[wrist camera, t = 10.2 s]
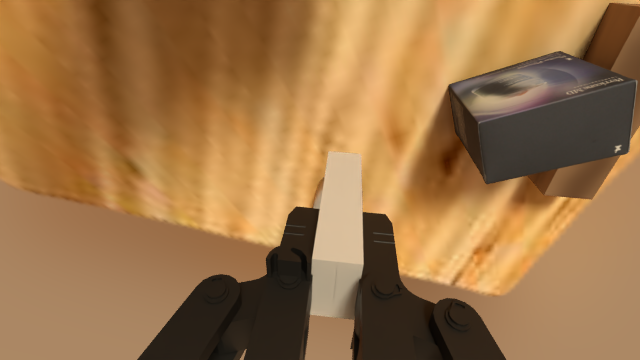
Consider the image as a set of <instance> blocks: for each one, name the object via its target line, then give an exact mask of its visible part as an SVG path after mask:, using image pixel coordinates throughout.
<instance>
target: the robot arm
mask: <svg viewBox="0 0 640 360" xmlns="http://www.w3.org/2000/svg"><path fill="white" fill-rule="evenodd" d="M393 234H394V233H393V226H392V223H391V221H390V220H389V218H388V217H387V216H386V214H376V213H366V212H362V170H361V154H355V153H344V152H332V151H329V152H328V159H327V165H326V172H325V178H324V185H323V191H322V198H321V204H320V209H316V208H305V207H295V208H294V210H293V211H292V212H291V213H290V214H289V215H288V219H287V223H286V226H285V230H284V234H283V237H282V241H281V244H280V246H278V247H276V248H274V249H273V250H272V251H270V252H269V254H268V256H267V258H266V266H267V274H266V275H265V276H263V277H261V278H259V279H256V280H252V281H247V282H241V283H238V282H237V281H236V279H234V278H233V277H231V276H229V275H223V274H220V275H214V276H211V277H209V278H207V279H205V280H203V281H202V282H201V283H200V284H199V285H198V286H197V287H196V288H195V289H194V290H193V292H192V293H191V294H190V295H189V297H188V298H187V299H186V300H185V301H184V303H183V304H182V305H181V306H180V308H179V309H178V310H177V311H176V313H175V314H174V315H173V316H172V317H171V319H170V320H169V321H168V322H167V324H166V325H165V326H164V327H163V329H162V330H161V331H160V332H159V333H158V335H157V336H156V337H155V339H154V340H153V341H152V342H151V343H150V345H149V346H148V347H147V349H146V350H145V351H144V352H143V353H142V355H141V356H140V357H139V358H138V359H137V360H240V358H241V356H242V354H243V352H244V350H245V349H247V350H246V354H245V357H244V360H305V354H306V346H307V338H308V329H309V317H310V315H318V316H326V317H336V318H344V319H354V316H355V320H354V321H355V323H354V332H353V338H352V343H351V348H350V349H353V355H352V357H353V358H352V360H506V358H505V357H504V355H503V354H502V352H501V350H500V349H499V347H498V345H497V344H496V342H495V340H494V339H493V337H492V335H491V334H490V332H489V331H488V329H487V327H486V325H485V324H484V322H483V321H482V319H481V317H480V316H479V315H478V313H477V312H476V311H475V310H474V309H473V308H472V307H471V306H469V305H468V304H466V303H465V302H462V301H460V300H457V299H450V298H446V299H443V300H440V301H439V302H438V303H437V304H434V303H432V302H429V301H427V300H424V299H422V298H419V297H417V296H416V295H414V294H412V293H411V292H410V291H408V290H407V288H406V287H405V286H404V285H403V283H402V282H401V280H400V276H399V270H398V263H397V255H396V248H395V241H394V236H393Z"/></svg>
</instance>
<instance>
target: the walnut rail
mask: <svg viewBox="0 0 640 360" xmlns="http://www.w3.org/2000/svg"><path fill="white" fill-rule="evenodd" d="M583 60H584V61H586V62H589V63H592V64H594V65H597V66H600V67H602V68H605V69H608V70H610V71H613V72H615V73H618V74H620V75H623V76H626V77H628V78H631V79H635V80H637V81H638V82H637V90H636V99H635V107H634V115H633V123H632V131H631V138H632V137H633V135H634V134H635V132H636V130H637V129H638V127H639V126H640V4H622V3H610V4H609V7H608V9H607V11H606V13H605V15H604V17H603V19H602V21H601V23H600V25H599V27H598V29H597V32H596V34H595V36H594V38H593V40H592V42H591V44H590V46H589V48H588V50H587V52H586V55H585V57H584V59H583ZM630 140H631V139H630ZM619 157H620V155H619V156H614V157H610V158H605V159H600V160H596V161H591V162H587V163H582V164H577V165H573V166H568V167H564V168H559V169H555V170H550V171H545V172H541V173H536V174H532V175H528V177H529V178H530V179H531V180H532V181H533V183H534V184H535V185H536V186H537V187H538V189H539V190H540V191H541V192H542V193H543V195H548V196H559V197H570V198H581V199H593V197H594V196H595V194H596V193H597V191H598V189H599V188H600V186H601V185H602V183H603V182H604V180H605V179H606V177H607V175H608V174H609V172H610V171H611V169H612V168H613V166H614V165H615V163H616V161H617V160H618V158H619Z"/></svg>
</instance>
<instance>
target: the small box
mask: <svg viewBox="0 0 640 360" xmlns="http://www.w3.org/2000/svg"><path fill="white" fill-rule="evenodd" d="M637 82H638V81H637V80H635V79H631V78H628V77H626V76H623V75H620V74H618V73H615V72H613V71H610V70H608V69H605V68H602V67H600V66H597V65H594V64H592V63H589V62H586V61H584V60H581V59H579V58H576V57H574V56H571V55H569V54H566V53H563V52H561V51H558V52H554V53H551V54H548V55H545V56H541V57H538V58H535V59H531V60H528V61H525V62H521V63H518V64H515V65H512V66H508V67H505V68H502V69H499V70H495V71H492V72H489V73H485V74H482V75H479V76H476V77H472V78H469V79H466V80H462V81H459V82H456V83H452V84H450V85H449V94H450V101H451V107H452V113H453V119H454V125H455V132H456V134H457V136H458V137H459V138H460V140H461V141H462V143H463V145H464V146H465V148H466V150H467V151H468V153H469V155H470V156H471V158H472V160H473V161H474V163H475V164H476V166H477V168H478V169H479V171H480V173H481V175H482V176H483V179H484V181H485V183H486V184H490V183H495V182H499V181H504V180H509V179H513V178H518V177H522V176H527V175H532V174H536V173H541V172H545V171H550V170H555V169H559V168H564V167H568V166H573V165H577V164H582V163H587V162H591V161H596V160H600V159H605V158H610V157H614V156H619V155H624V154H627V153H628V152H629V150H630V139H631V131H632V123H633V115H634V107H635V99H636V90H637Z"/></svg>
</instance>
